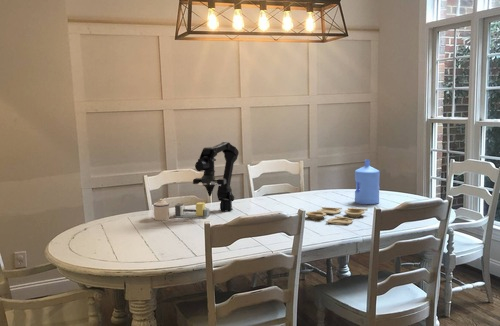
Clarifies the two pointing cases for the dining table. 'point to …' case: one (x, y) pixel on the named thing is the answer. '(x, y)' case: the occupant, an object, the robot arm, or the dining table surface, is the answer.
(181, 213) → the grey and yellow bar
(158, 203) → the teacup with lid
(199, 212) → the sleeve
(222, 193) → the robot arm
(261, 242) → the dining table surface
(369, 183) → the water jug
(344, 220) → the tableware set
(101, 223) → the dining table surface
